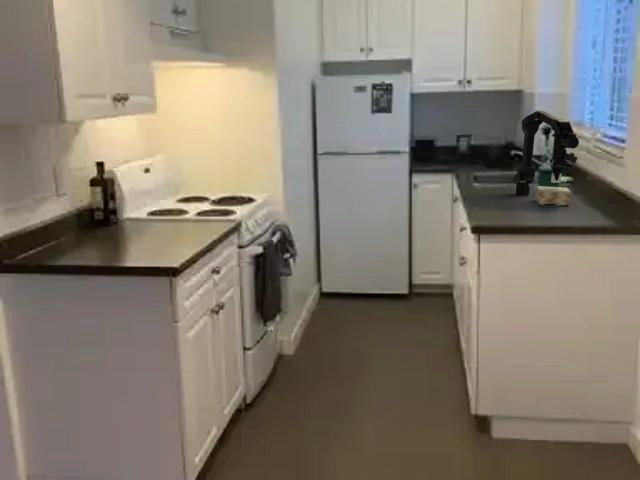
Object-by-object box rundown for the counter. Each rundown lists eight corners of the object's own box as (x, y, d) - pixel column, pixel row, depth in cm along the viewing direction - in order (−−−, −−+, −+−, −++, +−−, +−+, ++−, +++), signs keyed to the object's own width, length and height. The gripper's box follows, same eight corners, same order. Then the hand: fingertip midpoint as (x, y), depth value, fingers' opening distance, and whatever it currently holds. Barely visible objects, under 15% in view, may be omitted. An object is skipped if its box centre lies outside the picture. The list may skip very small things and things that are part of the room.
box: (537, 204, 327) (539, 191, 325) (535, 200, 340) (537, 187, 339) (569, 206, 324) (570, 193, 322) (565, 201, 337) (567, 189, 336)
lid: (539, 191, 325) (539, 189, 325) (537, 187, 339) (537, 186, 338) (570, 193, 322) (570, 191, 322) (567, 189, 336) (567, 187, 335)
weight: (551, 182, 328) (552, 173, 327) (551, 181, 332) (551, 173, 331) (560, 182, 327) (561, 174, 326) (559, 181, 331) (560, 173, 330)
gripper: (580, 149, 315) (576, 183, 319) (575, 146, 333) (571, 179, 336) (554, 147, 318) (551, 181, 321) (550, 145, 336) (547, 177, 339)
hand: (556, 180), depth 329 cm, fingers closed on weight, 4 cm apart
